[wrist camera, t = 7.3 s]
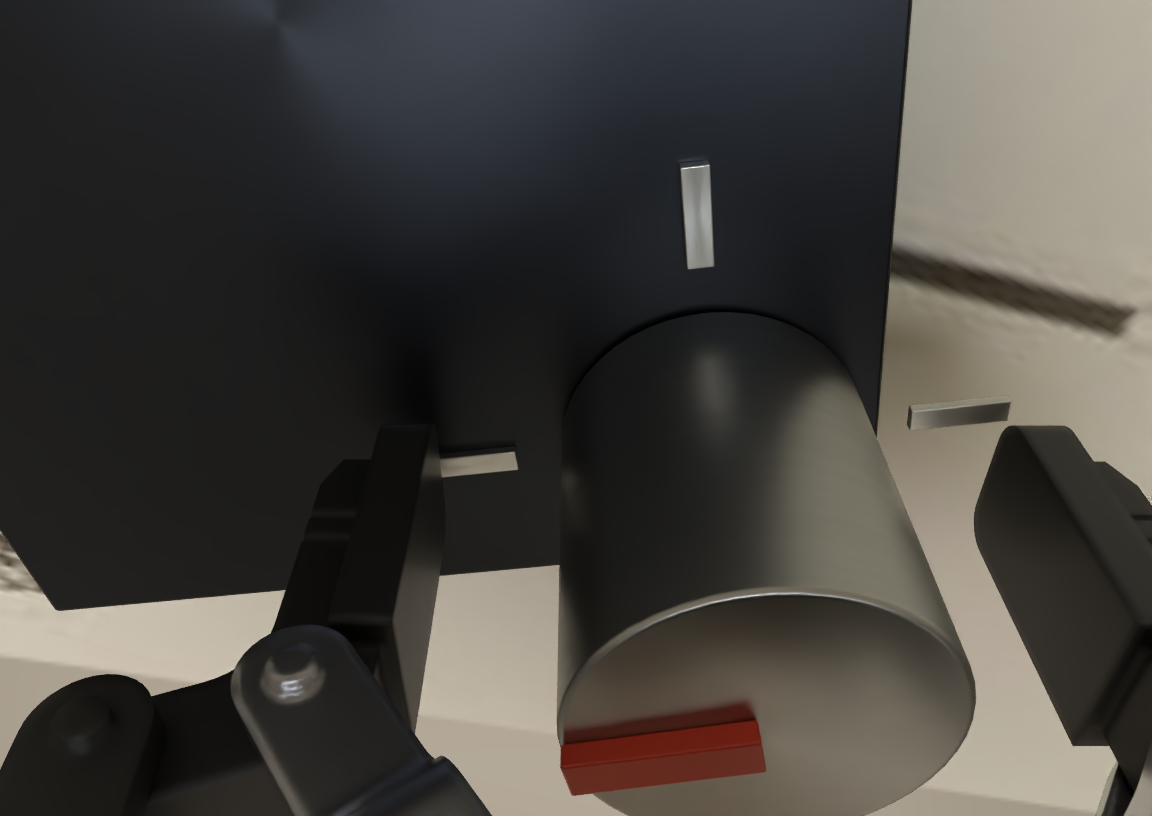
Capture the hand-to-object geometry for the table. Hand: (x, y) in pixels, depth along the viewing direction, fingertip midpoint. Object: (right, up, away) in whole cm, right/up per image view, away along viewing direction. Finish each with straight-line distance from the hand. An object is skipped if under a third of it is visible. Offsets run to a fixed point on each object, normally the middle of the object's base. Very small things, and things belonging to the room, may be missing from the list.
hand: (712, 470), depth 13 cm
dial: (0, 0, 0) cm, 1 cm away
